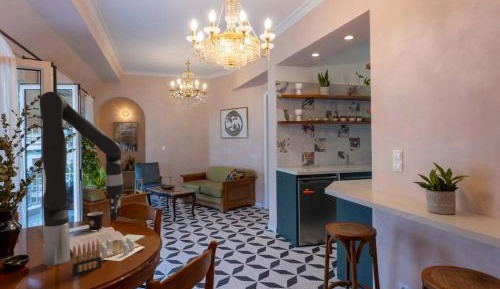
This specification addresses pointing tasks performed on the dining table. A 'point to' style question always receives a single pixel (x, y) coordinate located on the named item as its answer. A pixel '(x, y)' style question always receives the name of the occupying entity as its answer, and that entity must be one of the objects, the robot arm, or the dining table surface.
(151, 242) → the dining table surface
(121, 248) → the brass nut
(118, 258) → the spacer plate
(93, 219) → the coffee mug
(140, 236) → the rubber mat
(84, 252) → the ammunition clip
